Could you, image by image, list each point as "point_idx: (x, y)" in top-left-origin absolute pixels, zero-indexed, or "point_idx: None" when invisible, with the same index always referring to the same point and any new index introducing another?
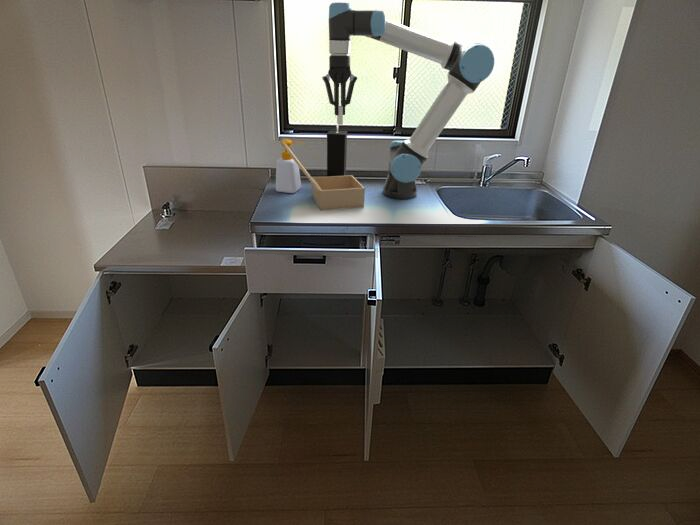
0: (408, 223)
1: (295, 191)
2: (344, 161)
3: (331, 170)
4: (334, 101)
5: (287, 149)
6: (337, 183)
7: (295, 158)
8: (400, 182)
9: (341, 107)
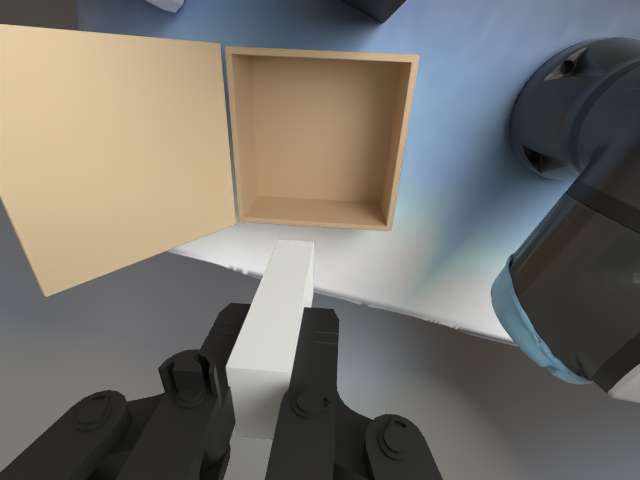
0: (436, 319)
1: (181, 5)
2: (403, 1)
3: None
4: (147, 446)
5: (20, 242)
6: (344, 59)
7: (89, 279)
8: (573, 175)
9: (274, 429)
